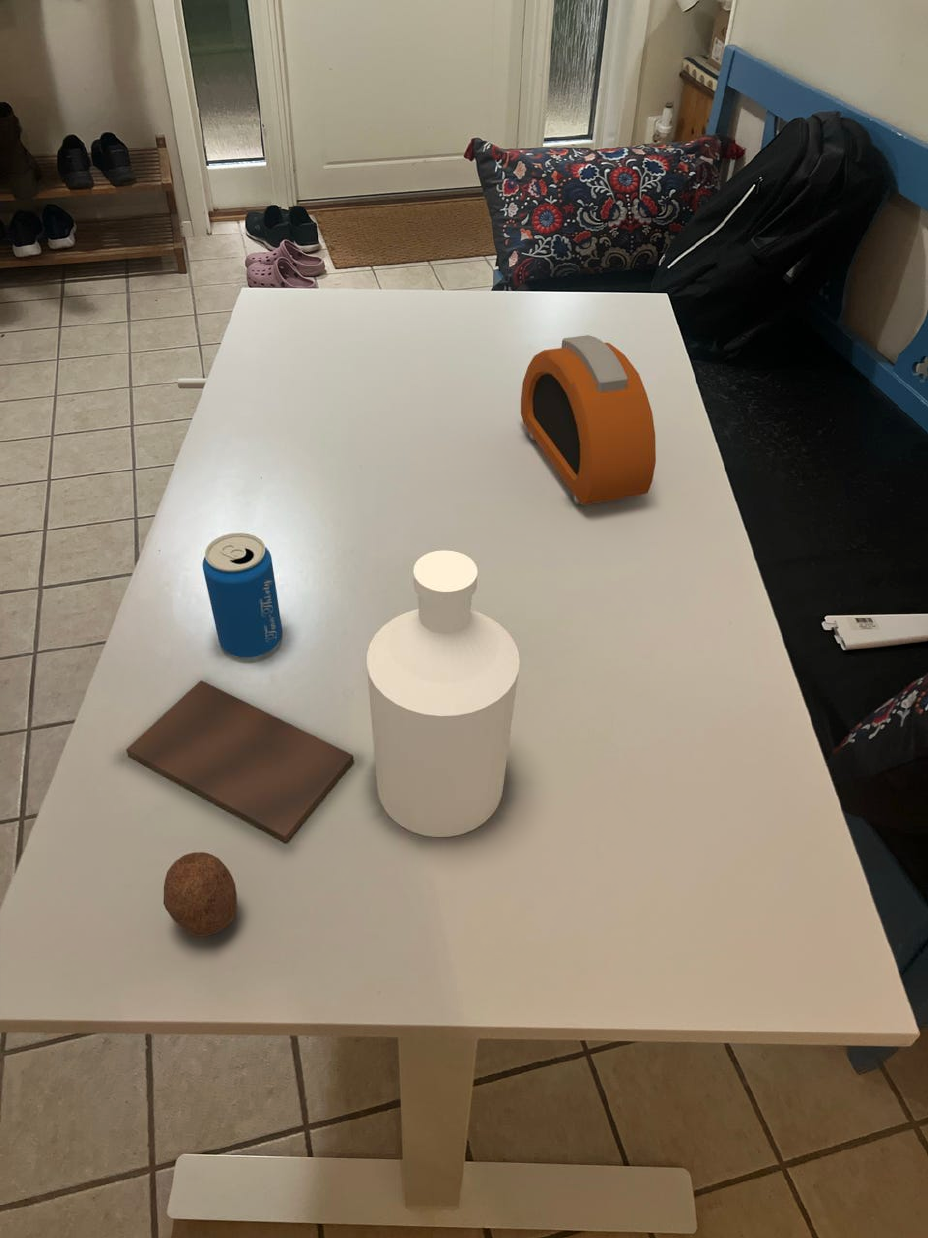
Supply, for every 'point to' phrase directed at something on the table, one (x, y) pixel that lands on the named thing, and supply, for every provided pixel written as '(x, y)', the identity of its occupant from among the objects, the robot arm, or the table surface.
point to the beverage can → (242, 595)
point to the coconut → (200, 893)
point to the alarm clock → (591, 419)
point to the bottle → (442, 703)
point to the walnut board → (242, 759)
